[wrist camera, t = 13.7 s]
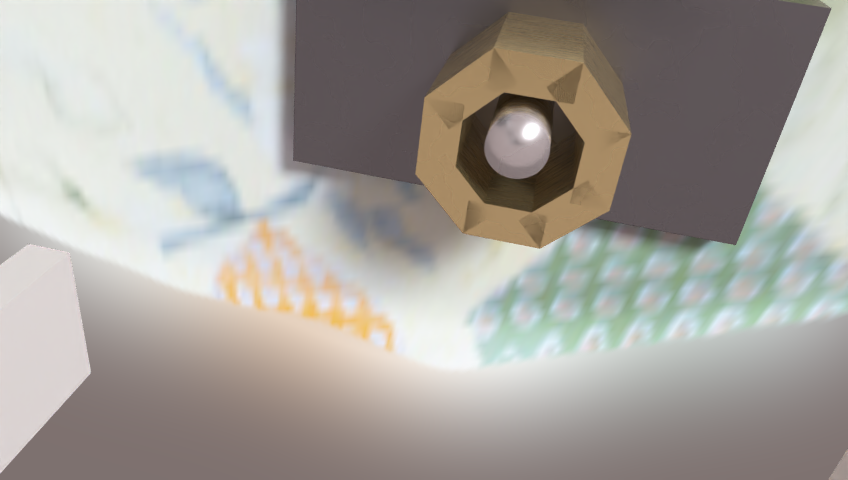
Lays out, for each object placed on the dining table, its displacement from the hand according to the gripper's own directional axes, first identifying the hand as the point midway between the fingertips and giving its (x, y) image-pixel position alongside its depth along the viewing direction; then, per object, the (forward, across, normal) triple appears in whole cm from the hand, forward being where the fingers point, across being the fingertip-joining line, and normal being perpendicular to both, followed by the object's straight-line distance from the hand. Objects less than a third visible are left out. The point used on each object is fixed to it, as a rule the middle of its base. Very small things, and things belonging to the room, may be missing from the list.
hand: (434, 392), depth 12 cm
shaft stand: (+21, +1, -1) cm, 21 cm away
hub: (+19, +1, -1) cm, 19 cm away
